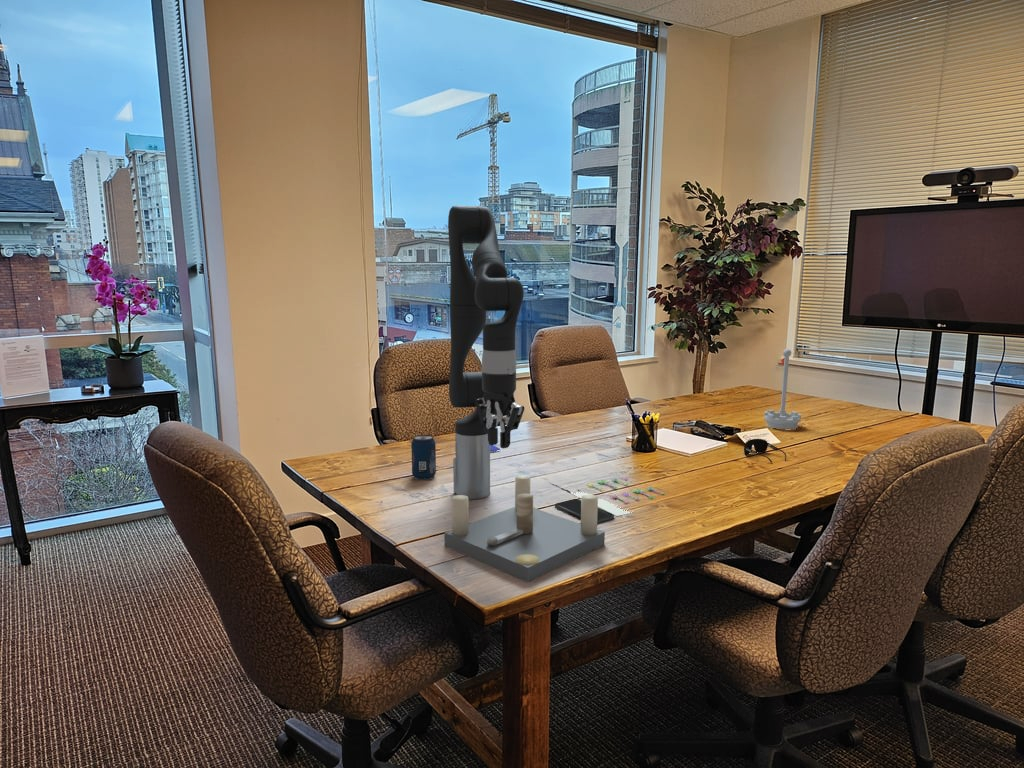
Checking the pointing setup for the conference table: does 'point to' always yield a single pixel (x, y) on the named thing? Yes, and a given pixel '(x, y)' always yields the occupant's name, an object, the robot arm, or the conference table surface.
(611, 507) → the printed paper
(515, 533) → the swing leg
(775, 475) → the conference table surface
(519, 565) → the grey square base plate
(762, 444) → the sunglasses
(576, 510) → the phone
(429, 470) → the soda can
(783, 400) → the flag stand
